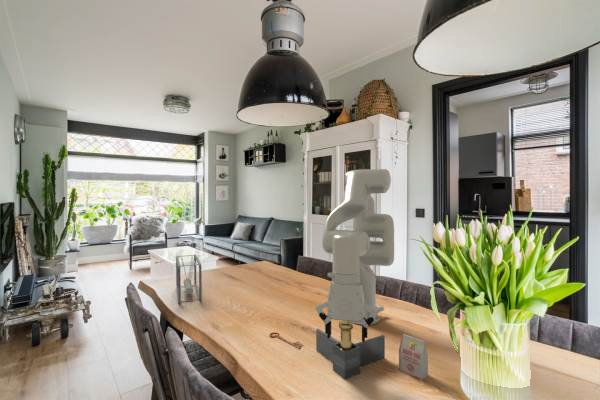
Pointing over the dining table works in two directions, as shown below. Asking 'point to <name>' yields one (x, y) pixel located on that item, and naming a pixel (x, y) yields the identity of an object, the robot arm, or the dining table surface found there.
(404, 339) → the tea bag
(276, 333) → the key
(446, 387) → the dining table surface
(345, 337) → the hinge pin
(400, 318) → the dining table surface
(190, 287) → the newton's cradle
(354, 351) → the bracket
